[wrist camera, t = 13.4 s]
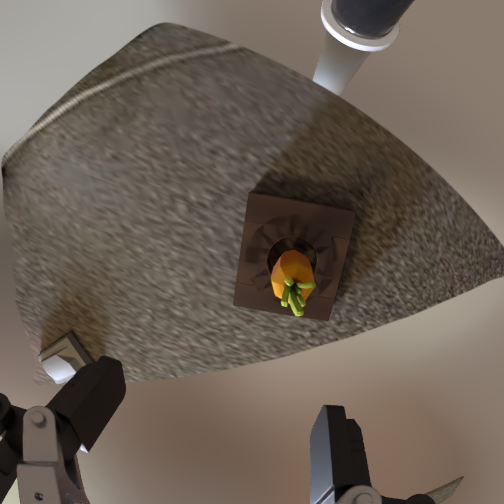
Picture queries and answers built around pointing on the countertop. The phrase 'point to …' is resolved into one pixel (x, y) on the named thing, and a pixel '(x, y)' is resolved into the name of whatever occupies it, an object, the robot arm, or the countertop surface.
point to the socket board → (283, 226)
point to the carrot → (293, 280)
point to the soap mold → (63, 359)
